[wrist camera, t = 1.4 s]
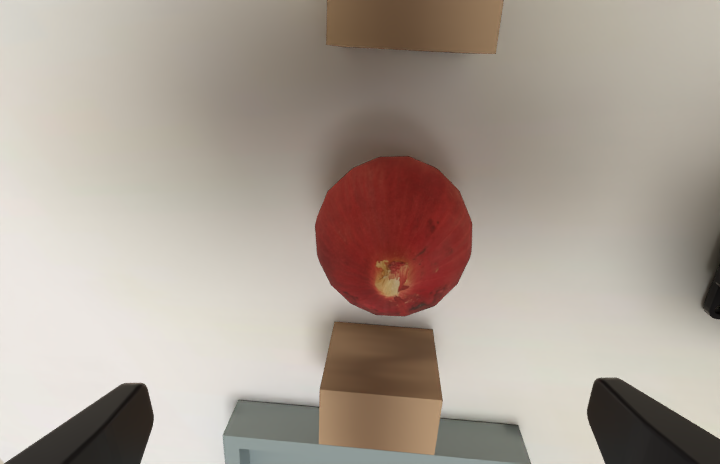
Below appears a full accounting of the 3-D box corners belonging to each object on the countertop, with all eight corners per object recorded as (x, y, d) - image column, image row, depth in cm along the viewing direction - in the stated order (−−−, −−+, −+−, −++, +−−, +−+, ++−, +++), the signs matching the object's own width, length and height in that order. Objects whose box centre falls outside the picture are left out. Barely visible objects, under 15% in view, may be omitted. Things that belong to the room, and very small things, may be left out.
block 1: (479, -34, 17) (513, -67, 12) (468, 53, 18) (495, 53, 13) (346, -40, 17) (328, -75, 12) (343, 46, 18) (326, 44, 13)
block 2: (432, 329, 23) (442, 400, 18) (426, 376, 24) (434, 454, 19) (334, 321, 23) (319, 389, 18) (333, 368, 24) (318, 444, 19)
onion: (475, 237, 20) (521, 342, 13) (360, 278, 22) (343, 395, 14) (431, 118, 19) (455, 162, 11) (308, 170, 20) (258, 240, 12)
